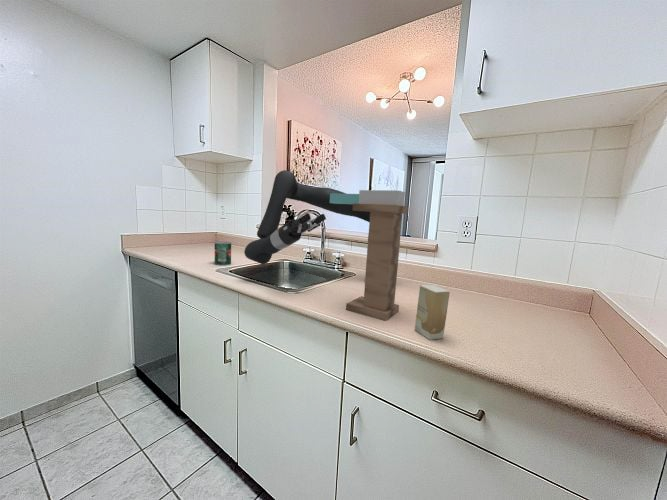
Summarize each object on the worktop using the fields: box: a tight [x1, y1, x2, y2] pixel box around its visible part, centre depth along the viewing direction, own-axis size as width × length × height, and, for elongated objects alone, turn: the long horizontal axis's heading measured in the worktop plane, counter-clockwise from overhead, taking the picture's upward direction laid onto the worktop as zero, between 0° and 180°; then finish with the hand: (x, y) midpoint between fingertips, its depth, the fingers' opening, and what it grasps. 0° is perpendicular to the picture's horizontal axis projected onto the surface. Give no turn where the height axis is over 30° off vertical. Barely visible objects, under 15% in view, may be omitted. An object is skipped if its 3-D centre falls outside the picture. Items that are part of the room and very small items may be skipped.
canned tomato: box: [214, 241, 232, 266], centre depth 139 cm, size 8×8×11 cm
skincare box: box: [414, 284, 451, 341], centre depth 69 cm, size 6×4×12 cm
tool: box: [330, 189, 406, 206], centre depth 83 cm, size 23×5×4 cm, turn 57°
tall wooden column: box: [345, 204, 409, 322], centre depth 83 cm, size 10×13×32 cm
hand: (317, 216), depth 93 cm, fingers open, 8 cm apart
